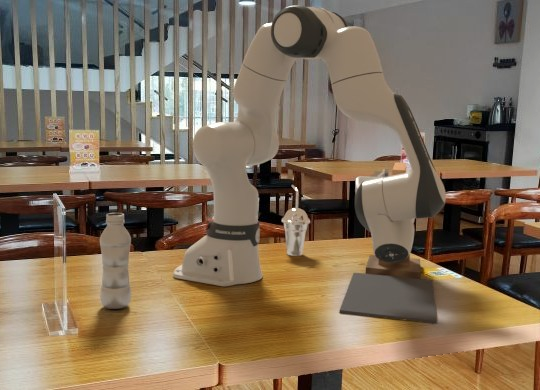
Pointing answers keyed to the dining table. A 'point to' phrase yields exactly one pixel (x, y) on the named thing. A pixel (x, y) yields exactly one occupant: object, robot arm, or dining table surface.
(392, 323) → the dining table surface
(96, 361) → the dining table surface
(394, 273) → the walnut stand
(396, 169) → the orange square bar
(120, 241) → the plastic bottle
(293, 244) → the cup with straw
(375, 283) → the rubber mat
